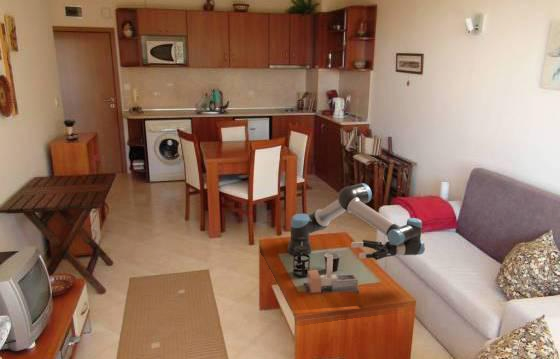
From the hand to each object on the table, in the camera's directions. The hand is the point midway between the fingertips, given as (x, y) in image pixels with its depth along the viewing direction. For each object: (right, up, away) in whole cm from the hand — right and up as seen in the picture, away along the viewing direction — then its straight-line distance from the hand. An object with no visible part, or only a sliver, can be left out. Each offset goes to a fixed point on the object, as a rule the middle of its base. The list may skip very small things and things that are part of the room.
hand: (355, 250), depth 231 cm
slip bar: (-15, -18, +3) cm, 24 cm away
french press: (-27, -18, +19) cm, 37 cm away
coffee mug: (-9, -16, +26) cm, 32 cm away
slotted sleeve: (-12, -21, +4) cm, 25 cm away
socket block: (-21, -20, +3) cm, 29 cm away
